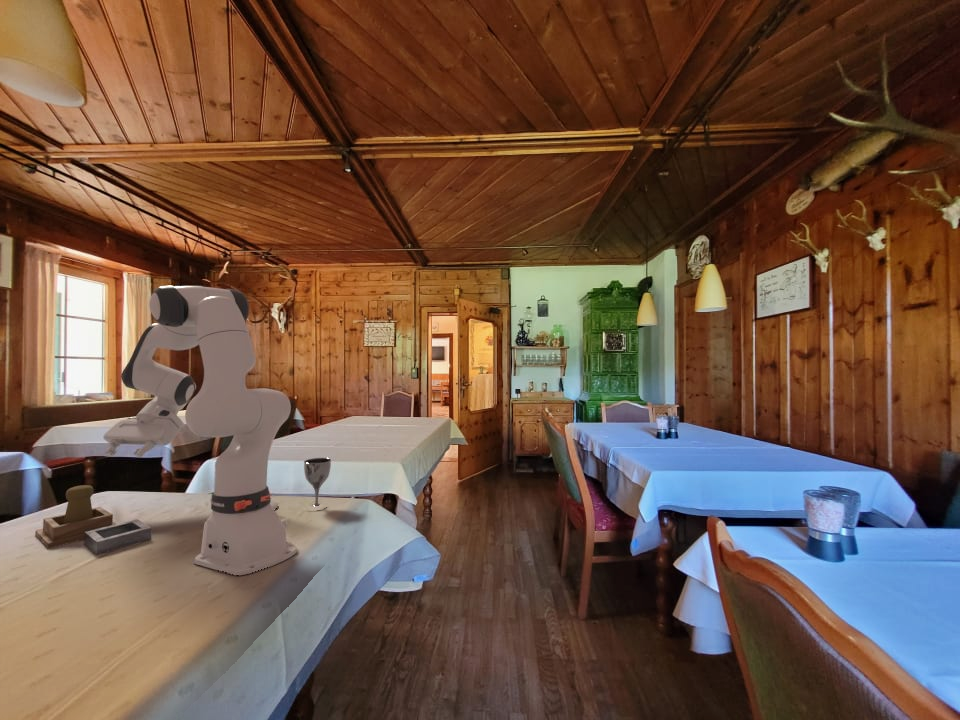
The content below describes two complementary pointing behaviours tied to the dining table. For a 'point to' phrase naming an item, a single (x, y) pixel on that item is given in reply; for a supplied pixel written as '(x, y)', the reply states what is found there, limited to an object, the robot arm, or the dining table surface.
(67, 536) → the walnut rack
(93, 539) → the socket block
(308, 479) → the wine glass
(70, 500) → the cork
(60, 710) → the dining table surface
